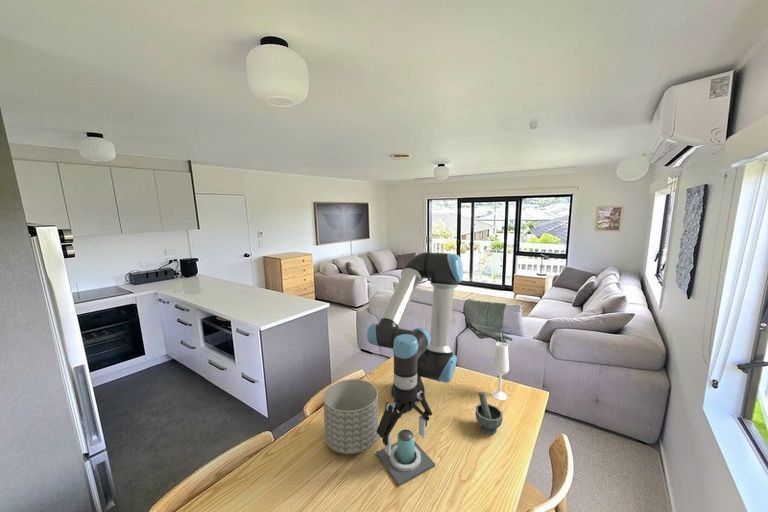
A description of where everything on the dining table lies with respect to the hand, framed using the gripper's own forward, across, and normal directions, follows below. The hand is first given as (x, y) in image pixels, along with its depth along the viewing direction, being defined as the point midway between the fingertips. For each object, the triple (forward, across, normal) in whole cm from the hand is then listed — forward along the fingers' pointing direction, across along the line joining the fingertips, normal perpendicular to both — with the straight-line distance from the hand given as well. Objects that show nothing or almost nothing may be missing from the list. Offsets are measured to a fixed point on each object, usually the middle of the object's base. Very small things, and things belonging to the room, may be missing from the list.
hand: (405, 443), depth 96 cm
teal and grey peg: (+5, 0, 0) cm, 5 cm away
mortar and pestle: (+6, +35, -4) cm, 36 cm away
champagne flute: (+6, +56, +7) cm, 57 cm away
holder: (+6, 0, 0) cm, 6 cm away
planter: (+6, -12, +17) cm, 21 cm away
